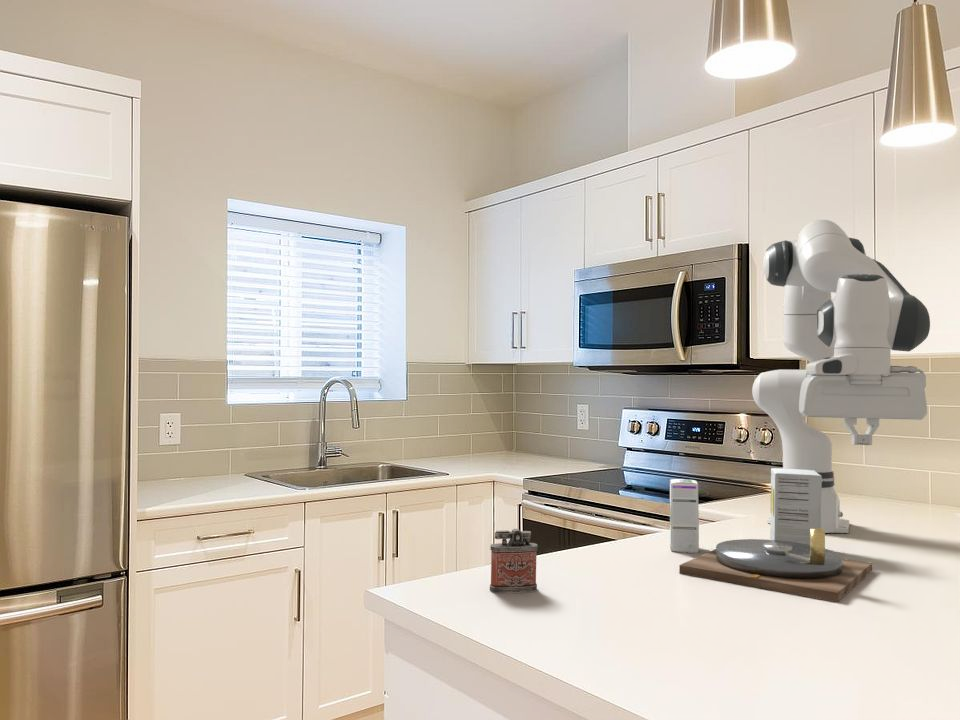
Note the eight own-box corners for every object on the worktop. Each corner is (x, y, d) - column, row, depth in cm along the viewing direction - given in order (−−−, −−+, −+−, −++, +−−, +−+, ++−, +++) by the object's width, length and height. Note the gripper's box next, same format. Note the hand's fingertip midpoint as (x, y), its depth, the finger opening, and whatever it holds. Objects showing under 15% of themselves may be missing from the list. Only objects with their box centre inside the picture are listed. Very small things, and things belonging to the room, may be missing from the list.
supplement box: (769, 543, 166) (770, 467, 166) (814, 547, 163) (815, 469, 164) (773, 553, 157) (774, 472, 157) (821, 557, 154) (822, 474, 155)
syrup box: (699, 553, 155) (700, 482, 156) (669, 551, 156) (670, 481, 157) (697, 547, 161) (697, 479, 161) (668, 545, 162) (669, 478, 162)
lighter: (533, 586, 128) (534, 527, 128) (539, 591, 125) (540, 531, 125) (487, 587, 126) (488, 528, 127) (492, 593, 123) (493, 532, 123)
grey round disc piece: (691, 553, 147) (692, 512, 147) (779, 546, 155) (780, 507, 155) (774, 582, 127) (774, 534, 127) (870, 572, 135) (870, 527, 135)
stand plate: (731, 549, 160) (731, 541, 160) (872, 570, 143) (872, 561, 143) (679, 573, 139) (679, 563, 139) (837, 602, 122) (837, 591, 122)
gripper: (917, 366, 133) (917, 445, 133) (796, 365, 136) (796, 441, 136) (934, 365, 127) (933, 448, 126) (806, 364, 130) (805, 444, 129)
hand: (861, 444), depth 131 cm, fingers closed
